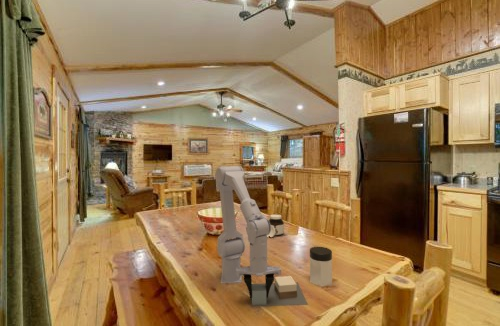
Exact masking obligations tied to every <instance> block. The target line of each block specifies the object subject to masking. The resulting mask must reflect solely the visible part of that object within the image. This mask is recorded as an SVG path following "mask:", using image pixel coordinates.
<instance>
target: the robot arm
mask: <svg viewBox="0 0 500 326" xmlns="http://www.w3.org/2000/svg"><path fill="white" fill-rule="evenodd" d="M244 171H245V169H243V167H242V166H241V165H230V166H225V165H224V166H217V168H216V170H215V173H214V175H215V185H216V189H219V197H220V198H219V199H220V207H221V217H222V228H223V229H222V230H223V231H222V232H221V234H220V235H219V236H218V237H217V246H216V250H217V251H216V252H217V254H218V256H219V257H220V258H221V275H220V276H221V278H220V284H241V283H242V281H244V284H245V286H246V287H247V290H248V293H249V299H251V298H252V284H253V283H252V281H253V280H252V276H256V277H259V278H260V277H263V276H264V278H265V283H266V285H265V287H266V298H268V294H269V290H270V287H271V285H272V283H275V276H276V275H277V276H282V268H281V266H271V265H268V237H267V235H268V234H270V231H271V225H270V222H269V219H268V217H266V216H265V215H264V214H262V212H261V210H260V208H259V206H258V204H257V202H256V200H255V199H253V198H251V196H250V194H249V191H248V189H247V186H246V183H245V181H244V180H245V176H246V175H245V172H244ZM233 190H234V192H235V194H236V196H237V198H238V199H239V201H240V205H239V209H240V211H241V213H242V215H243V218H244V220H245V222H246V226H245V231H246V235H247V241H248V242H249V266H243V267H241V265H242V264H241V263H242V261H241V257H242V256H243V254H244V253H245V250H246V241H245V240H244V236H243V234H242V233H241V232H239V231H238V230H237V222H236V212H235V204H234V203H235V201H234V193H233ZM242 277H243V279H242Z"/></svg>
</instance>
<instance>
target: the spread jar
mask: <svg viewBox="0 0 500 326" xmlns="http://www.w3.org/2000/svg"><path fill="white" fill-rule="evenodd" d="M268 220H269V222H270V225H271V231H270V234H268V235H267V238H269V237H268V236H270V237H271V238H273V237H281V236H283V234H284V232H285V222H284V220H283V219H282V215H281V214H270V215H269V219H268ZM280 235H281V236H280Z"/></svg>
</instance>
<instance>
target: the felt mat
mask: <svg viewBox="0 0 500 326" xmlns="http://www.w3.org/2000/svg"><path fill="white" fill-rule="evenodd" d="M295 283H296V284H297V297H292V298H285V299H280V298H279V297H278V295H277V293H276V292H275V290H274V284H275V282H273V283H272V285H271V287H270V290H269V294H268V298H266V305H252V298H250V305H251V307H257V308H258V307H281V306H284V307H285V306H287V307H288V306H309V304H308V301H307V299H306V297H305V295H304V293H303V291H302V289H301V286H300V283H299V282H296V281H295ZM260 284H265V285H266V282H265V283H260Z"/></svg>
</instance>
